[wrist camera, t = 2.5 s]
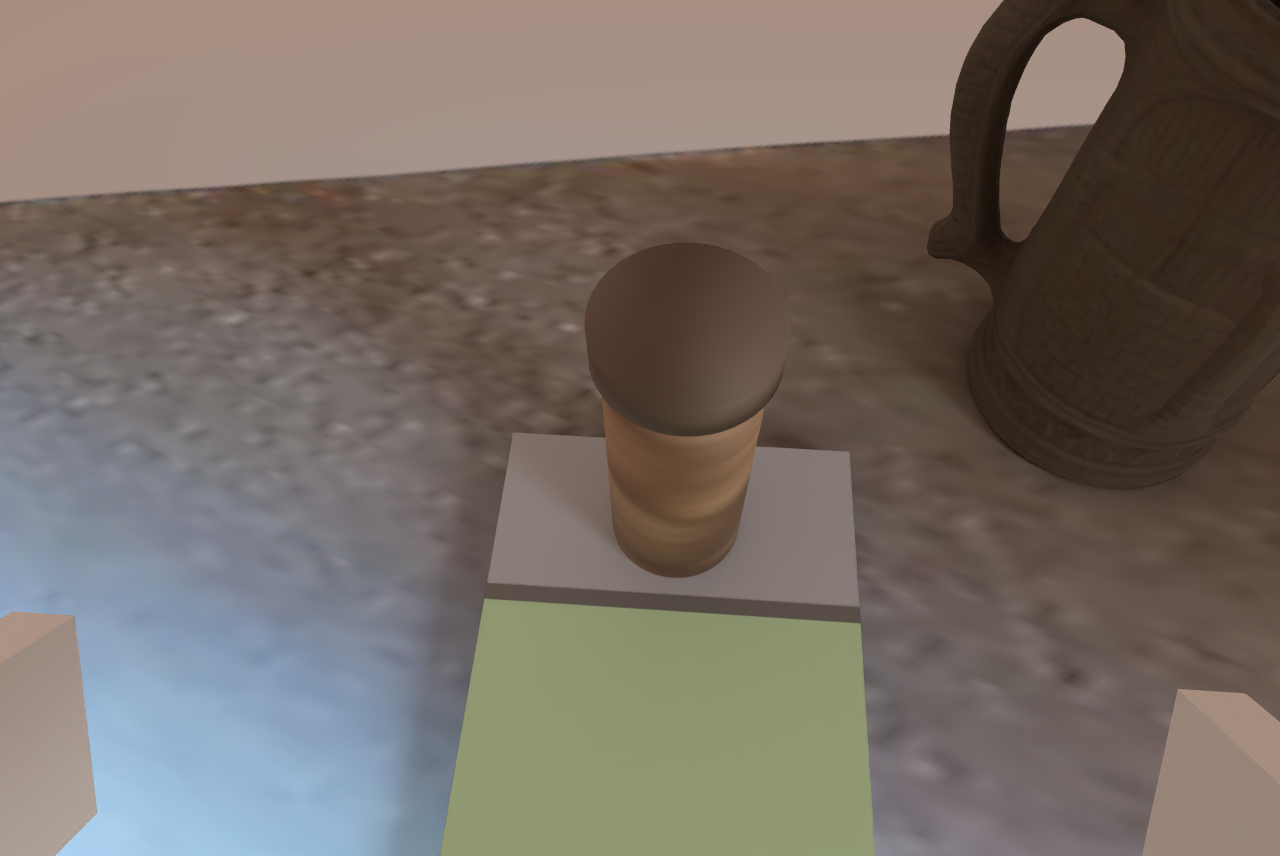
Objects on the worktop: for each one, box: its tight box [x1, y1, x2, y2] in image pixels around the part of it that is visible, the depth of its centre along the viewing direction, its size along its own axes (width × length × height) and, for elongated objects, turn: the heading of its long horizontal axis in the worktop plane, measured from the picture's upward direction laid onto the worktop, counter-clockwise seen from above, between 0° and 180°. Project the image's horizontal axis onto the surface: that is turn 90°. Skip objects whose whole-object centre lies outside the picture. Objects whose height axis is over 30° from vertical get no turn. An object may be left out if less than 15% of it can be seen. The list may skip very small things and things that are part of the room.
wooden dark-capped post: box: [585, 243, 792, 578], centre depth 29 cm, size 6×6×12 cm
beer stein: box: [927, 0, 1280, 489], centre depth 31 cm, size 15×11×20 cm
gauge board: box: [440, 432, 875, 856], centre depth 30 cm, size 14×24×1 cm, turn 176°
